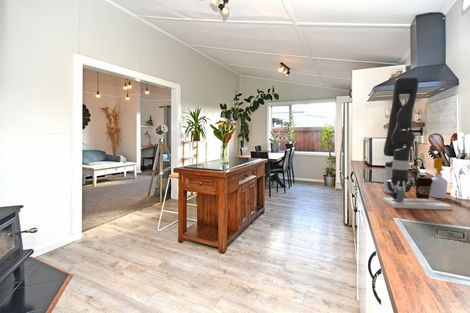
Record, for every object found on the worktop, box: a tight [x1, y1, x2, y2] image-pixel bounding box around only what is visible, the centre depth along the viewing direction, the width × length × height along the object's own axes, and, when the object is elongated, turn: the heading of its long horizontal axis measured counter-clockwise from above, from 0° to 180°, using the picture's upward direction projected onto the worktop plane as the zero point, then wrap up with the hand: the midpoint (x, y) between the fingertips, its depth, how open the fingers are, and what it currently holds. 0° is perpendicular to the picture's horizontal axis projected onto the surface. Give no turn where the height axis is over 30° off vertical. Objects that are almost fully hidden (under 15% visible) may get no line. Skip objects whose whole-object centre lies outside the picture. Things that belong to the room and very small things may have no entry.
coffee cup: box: [415, 176, 433, 199], centre depth 149 cm, size 9×8×13 cm
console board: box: [382, 196, 452, 211], centre depth 137 cm, size 13×28×2 cm, turn 83°
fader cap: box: [394, 188, 405, 201], centre depth 137 cm, size 5×3×6 cm, turn 173°
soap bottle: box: [429, 157, 448, 199], centre depth 153 cm, size 9×9×25 cm
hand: (397, 198), depth 138 cm, fingers closed on fader cap, 3 cm apart
